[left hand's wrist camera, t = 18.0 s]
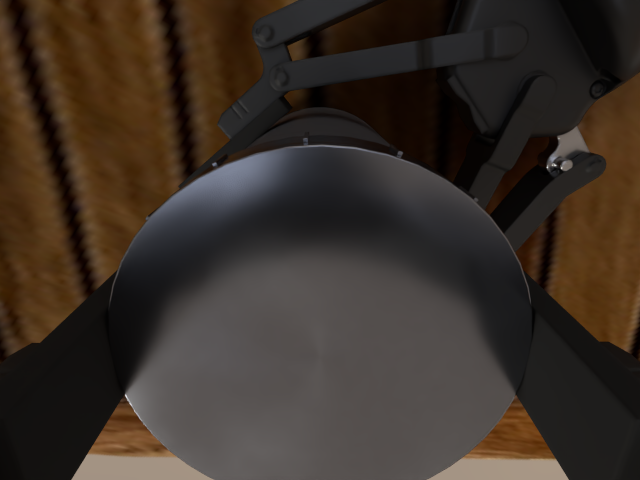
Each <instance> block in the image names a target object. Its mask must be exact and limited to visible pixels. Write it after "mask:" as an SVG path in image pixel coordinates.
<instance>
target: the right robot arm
mask: <svg viewBox="0 0 640 480" xmlns="http://www.w3.org/2000/svg"><path fill="white" fill-rule="evenodd" d="M385 1H387V0H298V1H296V2H294V3H292V4H290V5H288V6H286V7H284V8H281V9H279V10H277V11H275V12H273V13H271V14H269V15H267V16H264V17H262V18H260V19H259V20H257V21H256V22H255V24H254V26H253V29H252V35H253V39H254V41H255V42H256V44H257V47H258V50H259V52H260V55H261V58H262V61H263V65H264V70H263V74H262V76H261V78H260V79H259V81H258V82H257V83H256V84H254V85H253V86H252V87H251V88H250V89H249V90H248V91H247V92H246V93H245V94H243V95H242V96H241V97H240V98H239V99H238V100H237V101H236V102H235V103H234V104H232V105H231V106H230V107H229V108H228V109H227V110H226V111H225V112H224V113H223V114H222V115H221V117H220V119H219V121H218V124H217V125H218V126H219V127H220V128H221V130H222V131H223V132H224V133H225V134H226V135H227V136H228V138H229V139H230V141H229V142H228V143H227V144H226V145H225V146H223V147H222V148H221V149H220V150H219V151H218V152H217V153H215V154H214V155H213V156H212V157H211V158H210V159H209V160H208V161H206V162H205V163H204V164H203V165H202V166H201V167H200V168H199V169H197V170H196V171H195V172H194V173H193V174H192V175H191V176H189V177H188V178H187V179H186V180H185V181H184V182H183V183H182V184H180V185H179V186H178V187H179V188H182V187H183V186H184V185H185V184H187V183H188V182H189V181H190V180H192V179H193V178H194V177H196V176H197V175H199V174H200V173H202V172H203V171H204V170H206V169H207V168H209V167H210V166H212V163H213V162H215V161H216V160H217V159H219V158H220V157H221V156H222V155H224V154H227V155H228V156H230V155H232V154H234V153H236V152H238V151H241V150H244V149H246V148H247V147H249V146H250V145H251V144H252V143H253V142H254V141H255V140H257V139H258V138H259V137H260V136H261V135H262V134H264V133H265V132H266V131H267V130H268V129H269V128H270V127H272V126H273V125H274V124H275V123H276V122H277V121H278V120H280V119H281V118H282V117H283V116H284V115H285V114H287V113H288V112H289V111H290V110H291V109H292V108H293V107H292V106H291V105H290V104H289V102H288V101H287V100H286V99H285V97H284V95H285V94H287V93H288V92H289V91H292V90H299V89H305V88H311V87H317V86H324V85H330V84H336V83H342V82H349V81H355V80H361V79H367V78H373V77H380V76H386V75H392V74H398V73H405V72H411V71H417V70H424V69H431V68H436V69H437V76H438V79H436V82H437V83H438V85H439V86H440V88H441V89H442V91H443V92H444V93H445V94H446V95H447V96H448V97H450V98H451V99H452V100H453V101H454V102H455V103H456V105H457V108H458V111H459V114H460V118H461V119H462V121H463V122H464V124H465V125H466V127H467V128H468V130H471V131H474V133H473V136H472V138H471V140H470V142H469V144H468V146H467V149H466V157H465V159H464V161H463V163H462V165H461V168H460V170H459V172H458V174H457V176H456V178H455V180H454V182H453V183H454V184H455V185H456V186H458V187H459V186H462V187H463V188H464V189H466V190H467V191H468V192H469V193H471V194H472V195H473V196H475V197H476V198H477V199H478V201H477V202H476V203H477V204H478V205H480V206H481V207H482V208H483V209H484V210H485V208H486V206H487V205H488V203H489V201H490V199H491V197H492V195H493V193H494V192H495V190H496V188H497V186H498V184H499V182H500V180H501V179H502V177H503V175H504V174H505V173H506V172H507V171H509V170H510V169H511V168H512V167H513V166H514V164H515V163H516V161H517V159H518V157H519V156H520V154H521V152H522V150H523V148H524V146H525V144H526V143H527V141H528V139H529V138H534V137H549V144H548V146H547V148H546V149H545V150H544V151H543V152H541V153H540V154H539V155H538V158H537V159H538V165H536V166H535V167H533V168H532V169H531V170H530V171H529V172H528V173H526V174H525V176H524V177H523V178H522V179H521V180H520V181H519V182H518V183H517V184H516V185H515V187H514V188H513V189H512V190H511V191H510V192H509V194H508V195H507V196H506V197H505V198H504V199H503V200H502V202H501V203H500V204H499V205H498V206H497V207H496V209H495V210H494V211H493V212H492V213H491V214H490V216H491V217H492V219H493V220H494V221H495V223H496V224H497V225H498V227H499V228H500V229H501V231H502V232H503V233H504V235H505V236H506V237H507V239H508V241H509V242H510V244H511V246H512V248H513V250H514V252H516V251H517V250H518V248H519V247H520V246H521V245H522V244H523V243H524V242H525V241H526V240H527V239H528V238H529V236H530V235H531V234H532V233H533V232H534V231H535V230H536V229H537V228H538V227H539V226H540V225H541V223H542V222H543V221H544V220H545V219H546V218H547V217H548V216H549V215H550V214H551V213H552V211H553V210H554V209H555V208H556V207H557V206H558V205H559V204H560V203H561V202H562V201H563V199H564V198H565V197H566V196H568V195H569V194H571V193H573V192H574V191H576V190H578V189H579V188H581V187H583V186H584V185H586V184H587V183H589V182H591V181H592V180H594V179H596V178H597V177H599V176H600V175H601V174H602V173H603V172H604V170H605V168H606V161H605V159H604V158H603V156H600V155H598V154H594V153H591V152H589V150H588V148H587V146H586V144H585V142H584V140H583V138H582V135H581V133H580V131H579V129H578V127H577V125H578V124H579V123H580V121H581V120H582V118H583V116H584V114H585V113H586V111H587V110H588V109H589V108H590V106H591V105H592V104H593V103H594V102H595V101H597V100H598V99H599V98H601V97H603V96H604V95H606V94H608V93H609V92H611V91H613V90H614V89H616V88H618V87H619V86H621V85H622V84H624V83H625V82H626V81H628V80H629V79H631V78H632V77H633V76H635V75H636V74H638V73H639V72H640V0H457V3H456V6H455V9H454V12H453V15H452V17H451V20H450V23H449V26H448V29H447V32H446V35H445V36H440V37H434V38H428V39H423V40H419V41H413V42H407V43H401V44H395V45H389V46H382V47H376V48H370V49H364V50H358V51H352V52H346V53H340V54H334V55H328V56H322V57H316V58H309V59H303V60H297V61H292V59H291V56H290V53H289V50H288V47H287V46H288V45H291V44H293V43H295V42H297V41H299V40H301V39H304V38H306V37H308V36H310V35H312V34H315V33H317V32H319V31H321V30H323V29H326V28H328V27H330V26H332V25H334V24H336V23H339V22H341V21H343V20H345V19H347V18H350V17H352V16H354V15H356V14H358V13H361V12H363V11H365V10H367V9H369V8H371V7H374V6H376V5H378V4H380V3H382V2H385Z"/></svg>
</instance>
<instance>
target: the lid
mask: <svg viewBox="0 0 640 480" xmlns="http://www.w3.org/2000/svg"><path fill="white" fill-rule="evenodd" d="M477 201H478V199H477V198H476V197H475V196H473V195H472V194H471V193H469V192H468V191H467V190H466V189H464V188H463V187H462V186H459V187H458V186H456V185H455V184H454V183H452V182H451V181H450V180H448V179H447V178H446V177H444V176H443V175H442V174H440V173H439V172H437V171H436V170H435V169H433V168H432V167H430V166H429V165H428V164H426V163H424V162H422V161H420V160H418V159H416V158H414V157H412V156H410V155H408V154H407V153H405V152H402V151H401V150H400V149H398V148H397V147H396V146H395V145H394V144H390V146H389V147H388V146H385V145H383V144H380V143H377V142H372V141H367V140H362V139H358V138H353V137H344V136H331V135H311V136H309V132H305V134H304V136H294V137H288V138H283V139H278V140H273V141H268V142H264V143H261V144H258V145H255V146H252V147H249V148H246V149H244V150H241V151H238V152H236V153H234V154H232V155H230V156H228V155H227V154H224V155H222V156H221V157H220V158H219V159H217V160H216V161H215V162H213V163H212V166H210V167H209V168H207V169H206V170H204V171H203V172H202V173H200V174H199V175H197V176H196V177H194V178H193V179H192V180H190V181H189V182H188V183H187V184H185V185H184V186H183V187H182V188H180V189H179V190H178V191H176V192H175V193H174V194H173V195H171V196H170V197H169V198H168V199H167V200H166V201H165V202H164V203H163V204H162V205H161V206H160V207H158V208H157V209H156V210H155V211H153V212H152V213H151V214H150V215H148V216H147V217H146V220H147V221H146V222H145V223H144V225H143V226H142V227H141V229H140V230H139V231H138V232H137V234H136V235H135V236H134V238H133V240H132V242H131V243H130V245H129V247H128V249H127V251H126V253H125V254H124V256H123V258H122V260H121V263H120V265H119V268H118V271H117V274H116V277H115V279H114V282H113V286H112V292H111V297H110V302H109V308H108V338H109V345H110V350H111V355H112V360H113V364H114V368H115V372H116V375H117V378H118V381H119V383H120V385H121V387H122V389H123V392H124V394H125V396H126V398H127V400H128V402H129V403H130V405H131V406H132V408H133V409H134V411H135V413H136V414H137V416H138V417H139V419H140V420H141V421H142V422H143V424H144V425H145V426H146V427H147V428H148V430H149V431H150V432H151V433H152V434H153V436H154V437H155V438H157V439H158V440H159V441H160V442H161V443H162V444H163V445H164V446H165V447H166V448H167V449H168V450H169V451H170V452H172V453H173V454H174V455H176V456H177V457H178V458H180V459H181V460H182V461H184V462H185V463H186V464H188V465H189V466H191V467H193V468H194V469H196V470H198V471H199V472H201V473H203V474H204V475H206V476H208V477H210V478H212V479H214V480H427V479H429V478H431V477H433V476H434V475H436V474H438V473H440V472H441V471H443V470H445V469H446V468H448V467H450V466H451V465H453V464H454V463H455V462H457V461H458V460H460V459H461V458H462V457H464V456H465V455H466V454H468V453H469V452H470V451H471V450H472V449H473V448H474V447H476V446H477V445H478V444H479V443H480V442H481V441H482V440H483V439H484V438H485V437H486V436H487V435H488V434H489V433H490V431H491V430H492V429H493V428H494V427H495V426H496V424H497V423H498V422H499V421H500V419H501V418H502V416H503V415H504V413H505V412H506V410H507V409H508V407H509V406H510V404H511V403H512V401H513V399H514V397H515V395H516V393H517V391H518V388H519V386H520V384H521V382H522V380H523V376H524V373H525V370H526V366H527V362H528V358H529V353H530V348H531V342H532V335H533V331H532V306H531V300H530V294H529V288H528V284H527V281H526V278H525V275H524V272H523V270H522V267H521V264H520V261H519V259H518V257H517V256H516V254H515V252H514V250H513V248H512V246H511V244H510V242H509V241H508V239H507V237H506V236H505V235H504V233H503V232H502V231H501V229H500V228H499V227H498V225H497V224H496V223H495V221H494V220H493V219H492V217H491V216H490V215H489V214H488V213H487V212H486V211H485V210H484V209H483V208H482V207H481V206H480V205H478V204H477V203H476V202H477Z"/></svg>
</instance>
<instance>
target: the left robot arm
mask: <svg viewBox="0 0 640 480" xmlns="http://www.w3.org/2000/svg"><path fill="white" fill-rule="evenodd" d="M117 271H118V270H117ZM117 271H116V272H115V273H114V274H113V275H112V276H111V277H110V278H108V279H107V280H106V281H105V282H104V283H103V284H102V285H101V286H100V287H99V288H98V289H97V290H96V291H95V292H94V293H93V294H91V295H90V296H89V297H88V298H87V299H86V300H85V301H84V302H83V303H82V304H81V305H80V306H79V307H78V308H77V309H76V310H75V311H73V312H72V313H71V314H70V315H69V316H68V317H67V318H66V319H65V320H64V321H63V322H62V323H61V324H60V325H59V326H58V327H56V328H55V329H54V330H53V331H52V332H51V333H50V334H49V335H48V336H47V337H46V338H45V339H44V340H43V341H42V342H41V343H31V344H30V345H28V346H26V347H24V348H23V349H21V350H19V351H17V352H15V353H14V354H12V355H10V356H9V357H8V358H7V359H6V360H4V361H3V362H2V363H1V364H0V480H71V479H72V478H73V476H74V474H75V473H76V471H77V469H78V468H79V466H80V465H81V463H82V462H83V460H84V458H85V457H86V455H87V453H88V452H89V450H90V449H91V447H92V445H93V444H94V442H95V441H96V439H97V437H98V436H99V434H100V433H101V431H102V429H103V428H104V426H105V424H106V423H107V421H108V420H109V418H110V416H111V415H112V413H113V412H114V410H115V408H116V407H117V405H118V404H119V402H120V400H121V399H122V397H123V396H124V392H123V389H122V387H121V385H120V383H119V381H118V378H117V375H116V372H115V368H114V364H113V360H112V355H111V350H110V345H109V338H108V308H109V302H110V297H111V292H112V286H113V282H114V279H115V277H116V274H117ZM523 272H524V271H523ZM524 275H525V278H526V281H527V284H528V288H529V294H530V300H531V306H532V331H533V335H532V342H531V348H530V353H529V358H528V362H527V366H526V370H525V373H524V376H523V380H522V382H521V384H520V386H519V388H518V391H517V393H516V395H517V397H518V398H519V400H520V402H521V403H522V405H523V406H524V408H525V410H526V411H527V413H528V414H529V416H530V418H531V419H532V421H533V422H534V424H535V426H536V427H537V429H538V431H539V432H540V434H541V435H542V437H543V439H544V440H545V442H546V443H547V445H548V447H549V448H550V450H551V451H552V453H553V455H554V456H555V458H556V459H557V461H558V463H559V464H560V466H561V468H562V469H563V471H564V472H565V474H566V476H567V477H568V479H569V480H640V362H639V361H638V360H637V359H636V358H635V357H633V356H632V355H631V354H629V353H628V352H626V351H624V350H622V349H621V348H619V347H617V346H615V345H614V344H612V343H610V342H599V341H598V340H597V339H595V338H594V337H593V336H592V335H591V334H590V333H589V332H588V331H587V330H586V329H585V328H584V327H583V326H582V325H581V324H580V323H579V322H577V321H576V320H575V319H574V318H573V317H572V316H571V315H570V314H569V313H568V312H567V311H566V310H565V309H564V308H563V307H562V306H560V305H559V304H558V303H557V302H556V301H555V300H554V299H553V298H552V297H551V296H550V295H549V294H548V293H547V292H546V291H545V290H544V289H542V288H541V287H540V286H539V285H538V284H537V283H536V282H535V281H534V280H533V279H532V278H531V277H530V276H529V275H528V274H527V273H525V272H524Z"/></svg>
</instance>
